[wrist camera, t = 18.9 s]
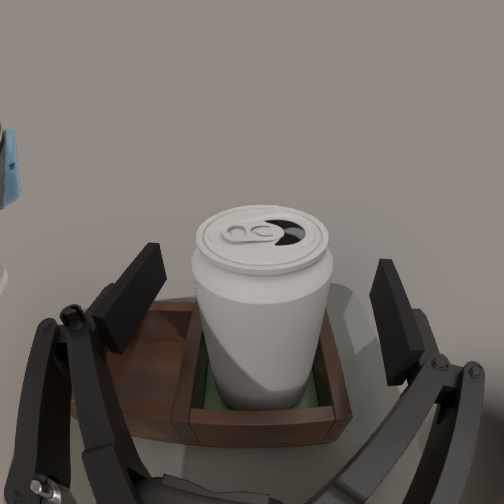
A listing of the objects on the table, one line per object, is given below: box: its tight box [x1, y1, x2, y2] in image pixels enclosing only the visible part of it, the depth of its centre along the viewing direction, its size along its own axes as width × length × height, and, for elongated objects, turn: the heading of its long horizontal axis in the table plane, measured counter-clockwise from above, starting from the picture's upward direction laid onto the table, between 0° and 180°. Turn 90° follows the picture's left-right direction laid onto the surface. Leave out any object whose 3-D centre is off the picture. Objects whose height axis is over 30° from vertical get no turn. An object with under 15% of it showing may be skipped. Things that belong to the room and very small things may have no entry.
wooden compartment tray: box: [70, 301, 353, 448], centre depth 18 cm, size 19×10×4 cm, turn 90°
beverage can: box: [191, 205, 334, 410], centre depth 15 cm, size 6×6×12 cm
